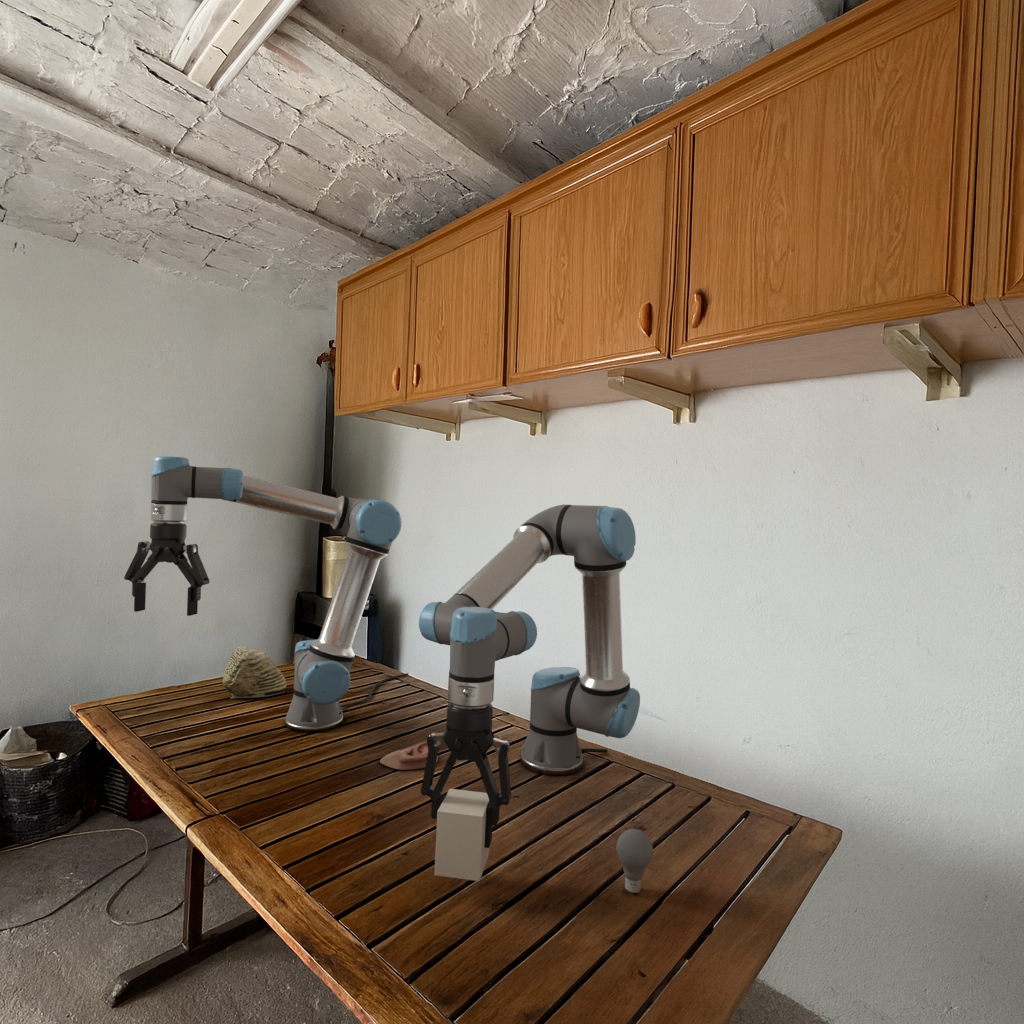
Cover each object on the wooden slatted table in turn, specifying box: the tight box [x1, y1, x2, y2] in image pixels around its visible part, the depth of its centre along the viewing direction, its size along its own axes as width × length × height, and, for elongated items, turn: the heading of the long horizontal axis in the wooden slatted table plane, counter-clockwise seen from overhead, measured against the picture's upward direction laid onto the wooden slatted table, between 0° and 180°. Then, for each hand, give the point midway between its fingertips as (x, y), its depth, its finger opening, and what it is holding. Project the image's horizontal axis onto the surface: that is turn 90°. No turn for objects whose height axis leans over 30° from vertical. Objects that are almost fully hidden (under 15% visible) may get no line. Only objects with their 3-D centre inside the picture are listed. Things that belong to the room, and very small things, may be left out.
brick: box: [434, 788, 490, 882], centre depth 104 cm, size 8×7×10 cm
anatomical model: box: [379, 740, 439, 771], centre depth 154 cm, size 13×4×12 cm
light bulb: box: [615, 828, 654, 894], centre depth 106 cm, size 6×6×10 cm
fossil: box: [222, 646, 288, 699], centre depth 198 cm, size 9×18×15 cm, turn 132°
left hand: (165, 612), depth 149 cm, fingers open, 13 cm apart
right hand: (463, 840), depth 105 cm, fingers closed on brick, 7 cm apart
